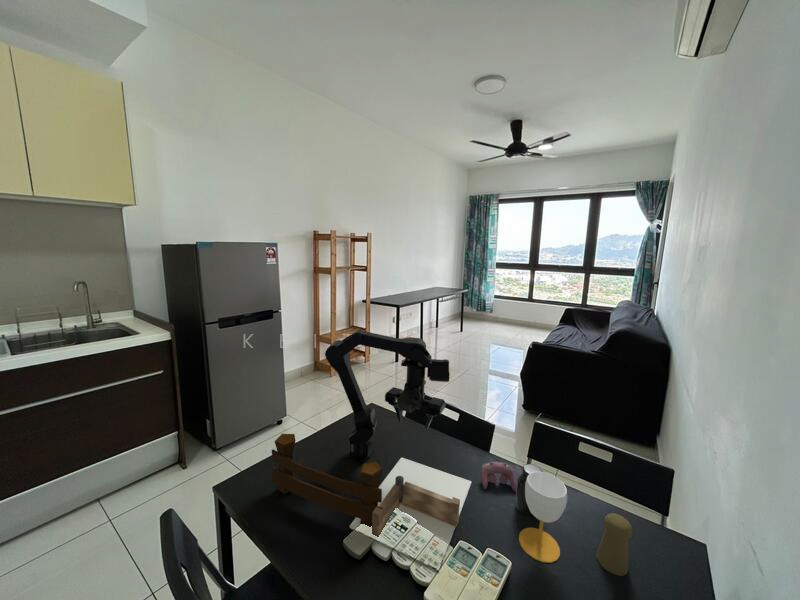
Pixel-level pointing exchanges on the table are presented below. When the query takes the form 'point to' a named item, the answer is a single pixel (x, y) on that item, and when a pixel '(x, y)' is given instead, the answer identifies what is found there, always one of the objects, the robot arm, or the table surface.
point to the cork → (615, 544)
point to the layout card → (430, 481)
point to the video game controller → (502, 469)
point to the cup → (543, 515)
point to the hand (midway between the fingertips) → (413, 425)
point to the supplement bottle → (520, 496)
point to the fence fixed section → (387, 506)
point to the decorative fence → (327, 483)
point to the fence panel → (431, 503)
